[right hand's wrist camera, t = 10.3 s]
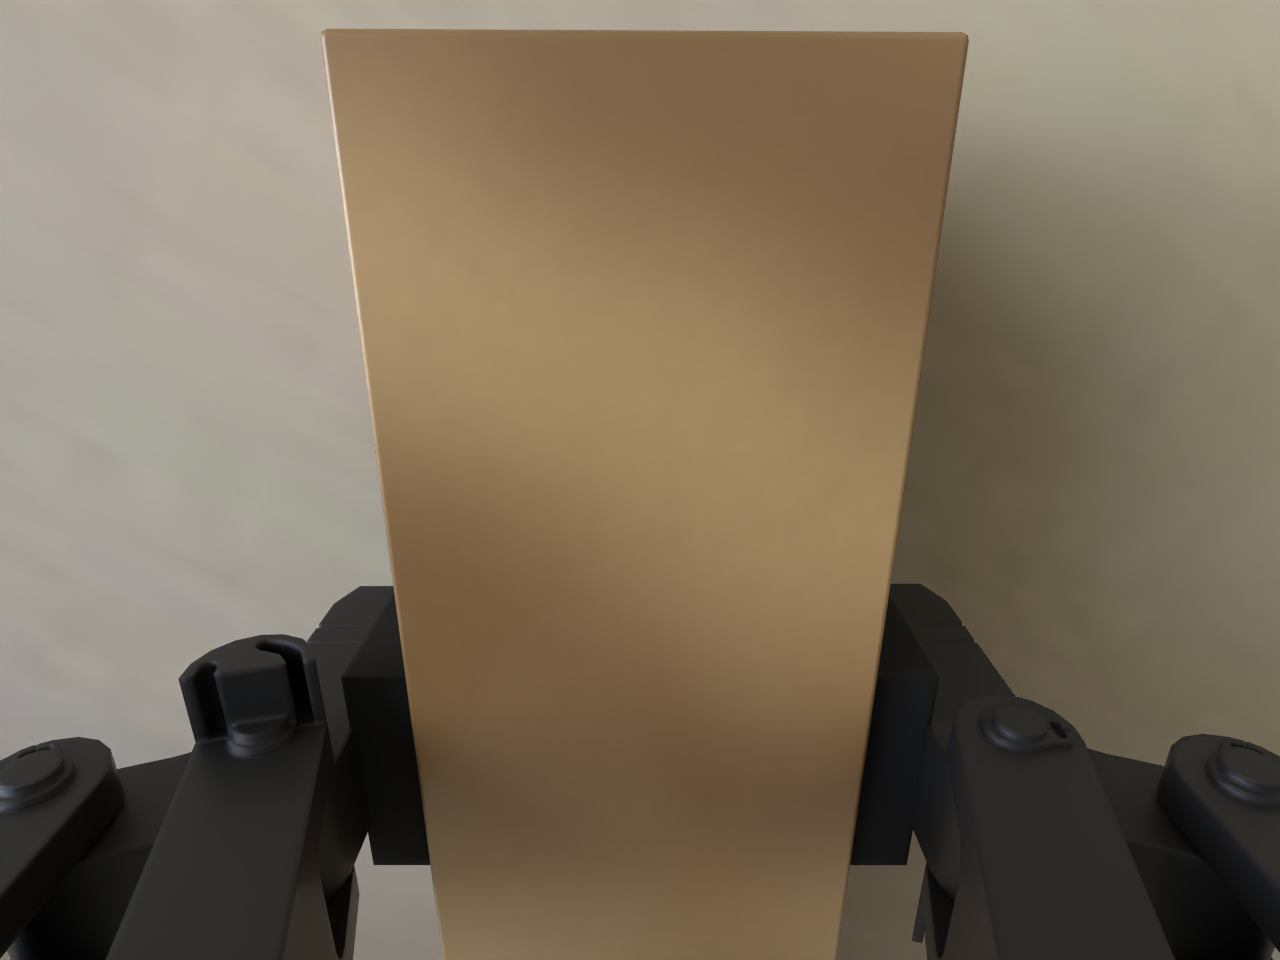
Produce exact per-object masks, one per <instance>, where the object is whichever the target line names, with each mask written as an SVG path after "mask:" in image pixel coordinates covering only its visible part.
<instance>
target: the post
mask: <svg viewBox="0 0 1280 960" xmlns="http://www.w3.org/2000/svg"><path fill="white" fill-rule="evenodd" d="M968 43H969V40H968V35H966V34H964V33H962V32H812V31H626V30H440V29H327V30H325V31H323V32H322V33H321V45H322V52H323V60H324V67H325V75H326V82H327V90H328V97H329V105H330V112H331V120H332V127H333V135H334V142H335V150H336V158H337V165H338V173H339V180H340V188H341V195H342V203H343V210H344V218H345V225H346V233H347V240H348V248H349V255H350V263H351V270H352V278H353V286H354V293H355V301H356V308H357V316H358V323H359V331H360V338H361V346H362V353H363V361H364V368H365V376H366V383H367V391H368V398H369V406H370V413H371V421H372V429H373V436H374V444H375V451H376V459H377V466H378V474H379V481H380V489H381V496H382V504H383V511H384V519H385V526H386V534H387V541H388V549H389V556H390V564H391V572H392V579H393V587H394V594H395V602H396V609H397V617H398V624H399V632H400V639H401V647H402V654H403V662H404V669H405V677H406V684H407V692H408V700H409V707H410V715H411V722H412V730H413V737H414V745H415V752H416V760H417V767H418V775H419V782H420V790H421V797H422V805H423V812H424V820H425V827H426V835H427V843H428V850H429V858H430V865H431V873H432V880H433V888H434V895H435V903H436V910H437V918H438V925H439V933H440V940H441V948H442V955H443V960H836V958H837V951H838V944H839V937H840V930H841V923H842V916H843V909H844V903H845V896H846V889H847V882H848V875H849V868H850V861H851V854H852V847H853V840H854V833H855V826H856V819H857V812H858V805H859V799H860V792H861V785H862V778H863V771H864V764H865V757H866V750H867V743H868V736H869V729H870V722H871V715H872V708H873V701H874V695H875V688H876V681H877V674H878V667H879V660H880V653H881V646H882V639H883V632H884V625H885V618H886V611H887V604H888V597H889V590H890V584H891V577H892V570H893V563H894V556H895V549H896V542H897V535H898V528H899V521H900V514H901V507H902V500H903V493H904V486H905V480H906V473H907V466H908V459H909V452H910V445H911V438H912V431H913V424H914V417H915V410H916V403H917V396H918V389H919V382H920V376H921V369H922V362H923V355H924V348H925V341H926V334H927V327H928V320H929V313H930V306H931V299H932V292H933V285H934V278H935V271H936V265H937V258H938V251H939V244H940V237H941V230H942V223H943V216H944V209H945V202H946V195H947V188H948V181H949V174H950V167H951V161H952V154H953V147H954V140H955V133H956V126H957V119H958V112H959V105H960V98H961V91H962V84H963V77H964V70H965V63H966V57H967V50H968Z"/></svg>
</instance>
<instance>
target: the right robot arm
mask: <svg viewBox="0 0 1280 960" xmlns="http://www.w3.org/2000/svg"><path fill="white" fill-rule="evenodd" d="M961 623H962V622H961V620H960V619H959V618H958V616H957V615H956V613H955V612H954V611H953V609H952V608H951V607H950V605H949V604H948V602H947V601H945V600H944V599H942V598H941V597H939V596H938V595H936V594H935V593H933V592H932V591H930V590H929V589H927V588H926V587H924V586H923V585H921V584H890V590H889V597H888V604H887V611H886V618H885V625H884V632H883V639H882V646H881V653H880V660H879V667H878V674H877V681H876V688H875V695H874V701H873V708H872V715H871V722H870V729H869V736H868V743H867V750H866V757H865V764H864V771H863V778H862V785H861V792H860V799H859V805H858V812H857V819H856V826H855V833H854V840H853V847H852V854H851V861H850V865H907V860H908V854H909V848H910V843H911V837H912V831H913V830H914V832H915V835H916V837H917V840H918V842H919V844H920V847H921V849H922V851H923V854H924V856H925V859H926V861H927V862H926V867H925V872H924V877H923V883H922V888H921V893H920V899H919V904H918V909H917V915H916V920H915V925H914V932H913V938H912V941H915V942H920V943H922V941H923V936H924V931H925V940H926V950H927V960H1273V959H1272V957H1271V955H1272V953H1273V951H1274V949H1275V947H1276V948H1277V950H1278V951H1279V952H1280V756H1278V755H1276V754H1274V753H1272V752H1270V751H1268V750H1266V749H1264V748H1262V747H1260V746H1257V745H1255V744H1252V743H1249V742H1244V741H1242V740H1238V739H1234V738H1231V737H1224V736H1216V735H1208V734H1199V735H1192V736H1185V737H1182V738H1181V739H1179V740H1178V741H1177V742H1176V743H1174V744H1173V745H1172V746H1171V748H1170V751H1169V754H1168V757H1167V761H1166V764H1165V766H1161V765H1156V764H1151V763H1147V762H1142V761H1137V760H1133V759H1128V758H1123V757H1118V756H1114V755H1109V754H1105V753H1102V752H1098V751H1094V750H1091V749H1087V747H1086V745H1085V742H1084V741H1083V739H1082V738H1081V736H1080V735H1079V734H1078V732H1077V731H1076V729H1075V728H1074V726H1073V725H1071V724H1070V723H1069V722H1067V721H1066V720H1065V719H1063V718H1062V717H1061V716H1060V715H1058V714H1057V713H1056V712H1054V711H1052V710H1050V709H1048V708H1046V707H1044V706H1041V705H1039V704H1037V703H1035V702H1033V701H1031V700H1027V699H1023V698H1019V697H1015V695H1014V694H1013V692H1012V691H1011V690H1010V688H1009V687H1008V686H1007V684H1006V683H1005V681H1004V680H1003V679H1002V677H1001V676H1000V674H999V673H998V672H997V670H996V669H995V668H994V666H993V665H992V663H991V662H990V661H989V659H988V658H987V656H986V655H985V654H984V652H983V651H982V650H981V648H980V647H979V645H978V644H977V643H974V638H973V637H972V636H971V634H970V633H969V632H968V630H967V629H966V627H965V626H962V624H961ZM179 682H180V686H181V690H182V693H183V697H184V701H185V705H186V708H187V712H188V716H189V719H190V723H191V727H192V730H193V734H194V738H195V741H196V743H195V746H194V748H193V751H192V752H190V753H187V754H183V755H180V756H176V757H172V758H167V759H163V760H158V761H153V762H149V763H144V764H139V765H135V766H130V767H125V768H121V769H117V768H116V765H115V762H114V759H113V756H112V753H111V749H110V748H108V747H107V746H106V745H104V744H103V743H102V742H101V741H99V740H95V739H88V738H81V737H75V738H67V739H59V740H52V741H48V742H45V743H40V744H38V745H36V746H35V745H34V746H31V747H28V748H25V749H23V750H20V751H18V752H17V753H15V754H13V755H11V756H9V757H7V758H5V759H3V760H1V761H0V958H1V957H2V956H3V955H4V953H5V952H6V951H7V952H8V954H9V956H10V958H11V960H353V952H354V942H355V932H356V922H357V912H358V902H359V890H358V884H357V877H356V872H355V867H354V864H355V861H356V859H357V856H358V854H359V852H360V849H361V847H362V844H363V842H364V840H365V837H366V835H367V832H368V834H369V840H370V846H371V852H372V857H373V863H374V865H430V858H429V850H428V843H427V835H426V827H425V820H424V812H423V805H422V797H421V790H420V782H419V775H418V767H417V760H416V752H415V745H414V737H413V730H412V722H411V715H410V707H409V700H408V692H407V684H406V677H405V669H404V662H403V654H402V647H401V639H400V632H399V624H398V617H397V609H396V602H395V594H394V587H393V586H360V587H358V588H357V589H355V590H354V591H352V592H351V593H349V594H348V595H346V596H345V597H343V598H342V599H340V600H339V601H338V602H336V603H335V604H334V605H333V606H332V607H331V609H330V610H329V612H328V613H327V614H326V616H325V617H324V619H323V620H322V621H321V623H320V624H319V628H316V630H315V631H314V632H313V634H312V635H311V637H310V638H309V639H308V641H307V642H306V641H304V640H303V639H301V638H297V637H293V636H288V635H284V634H283V635H259V636H255V637H250V638H245V639H241V640H236V641H233V642H231V643H228V644H226V645H224V646H221V647H219V648H216V649H214V650H211V651H210V652H208V653H207V654H205V655H204V656H202V657H201V658H199V659H197V660H196V661H194V662H193V663H191V664H190V666H189V667H188V668H187V669H186V670H185V672H184V673H183V674H182V675H181V676H180V678H179Z"/></svg>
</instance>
